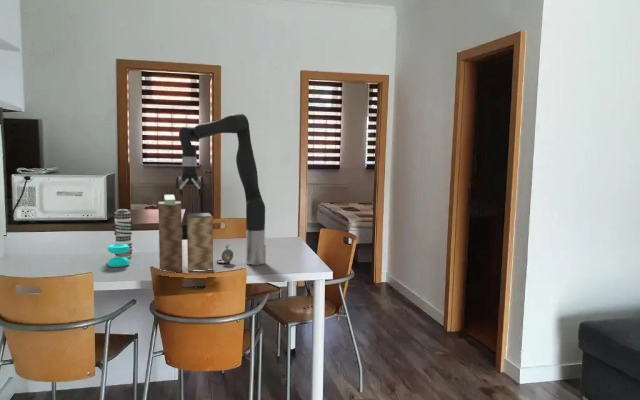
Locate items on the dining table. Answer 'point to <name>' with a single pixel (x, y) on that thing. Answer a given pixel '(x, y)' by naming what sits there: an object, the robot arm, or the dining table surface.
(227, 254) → the pocket watch
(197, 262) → the oak block
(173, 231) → the walnut stand
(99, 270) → the dining table surface
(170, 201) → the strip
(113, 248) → the donuts
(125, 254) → the decorative candle
